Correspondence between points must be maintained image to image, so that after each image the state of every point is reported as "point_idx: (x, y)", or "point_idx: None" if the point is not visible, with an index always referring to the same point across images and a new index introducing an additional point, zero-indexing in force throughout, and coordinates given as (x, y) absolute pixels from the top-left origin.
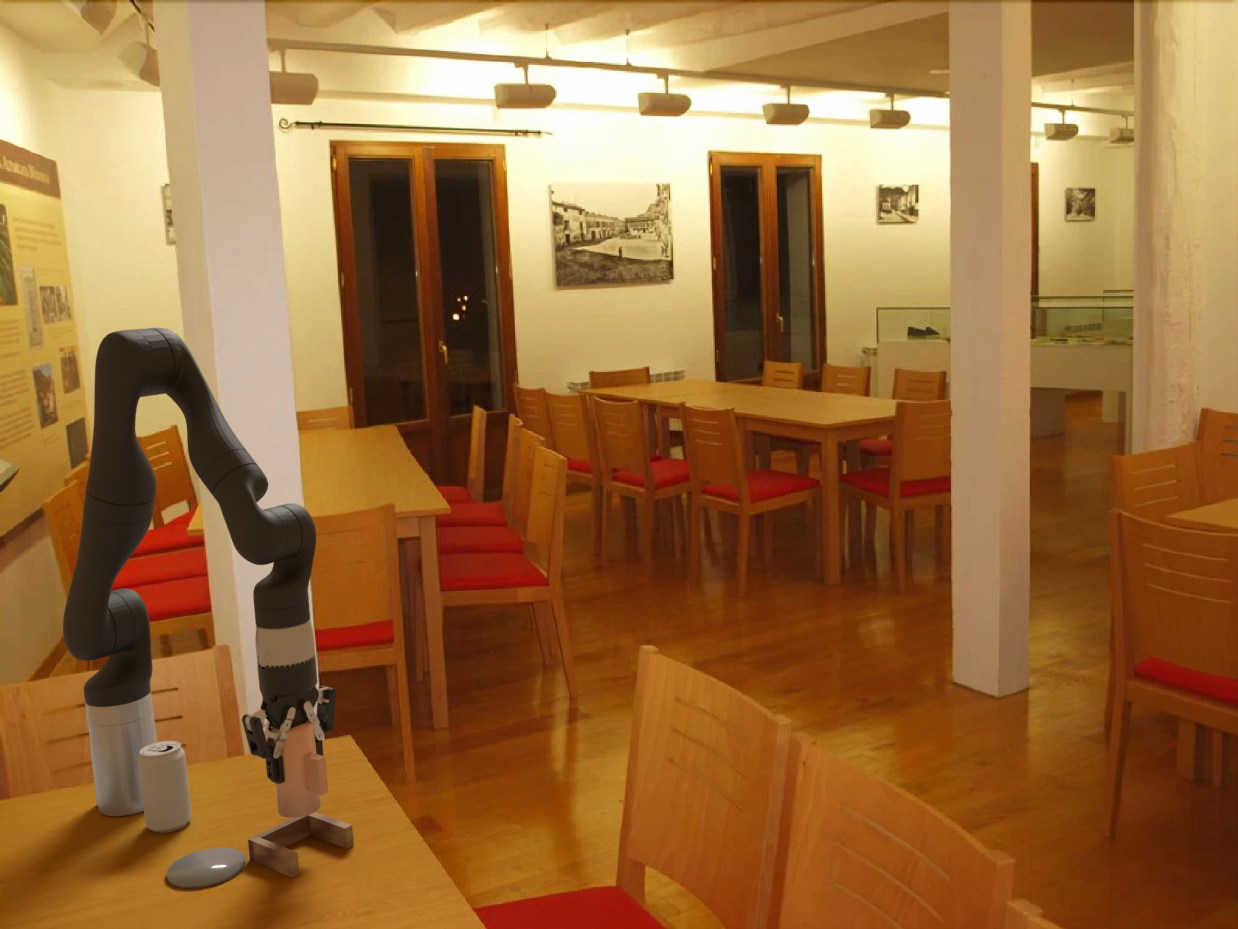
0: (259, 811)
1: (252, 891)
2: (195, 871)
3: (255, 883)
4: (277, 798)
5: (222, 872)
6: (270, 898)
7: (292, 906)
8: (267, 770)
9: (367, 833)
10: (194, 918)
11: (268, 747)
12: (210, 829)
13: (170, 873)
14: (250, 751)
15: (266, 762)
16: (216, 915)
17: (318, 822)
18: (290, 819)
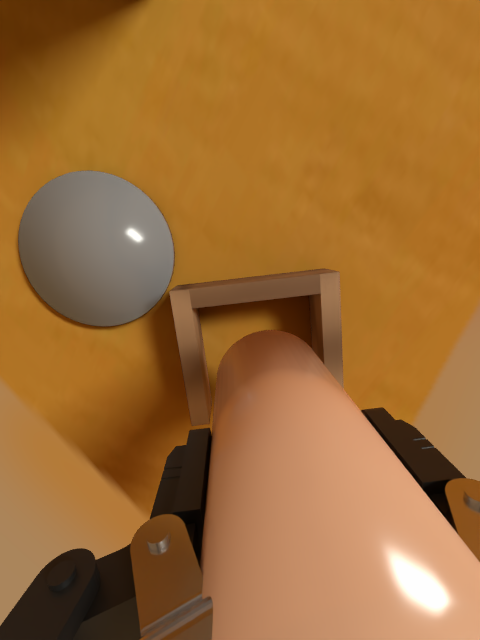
0: (311, 72)
1: (128, 391)
2: (70, 259)
3: (144, 371)
4: (217, 386)
5: (108, 307)
6: (139, 432)
7: (152, 475)
8: (163, 479)
9: (375, 366)
10: (21, 396)
11: (138, 625)
12: (186, 62)
13: (27, 224)
14: (29, 587)
15: (153, 511)
16: (52, 414)
17: (319, 325)
18: (283, 281)
